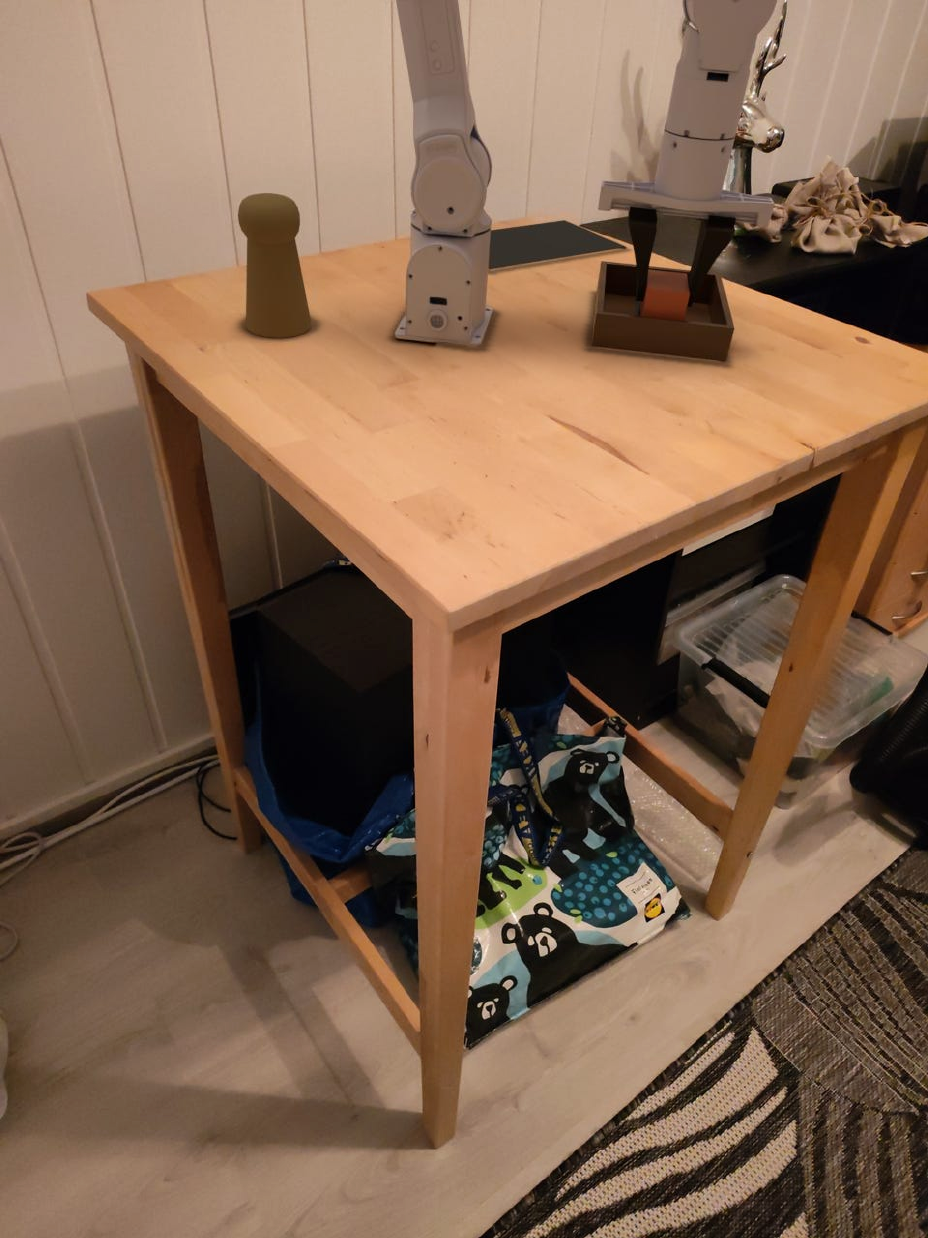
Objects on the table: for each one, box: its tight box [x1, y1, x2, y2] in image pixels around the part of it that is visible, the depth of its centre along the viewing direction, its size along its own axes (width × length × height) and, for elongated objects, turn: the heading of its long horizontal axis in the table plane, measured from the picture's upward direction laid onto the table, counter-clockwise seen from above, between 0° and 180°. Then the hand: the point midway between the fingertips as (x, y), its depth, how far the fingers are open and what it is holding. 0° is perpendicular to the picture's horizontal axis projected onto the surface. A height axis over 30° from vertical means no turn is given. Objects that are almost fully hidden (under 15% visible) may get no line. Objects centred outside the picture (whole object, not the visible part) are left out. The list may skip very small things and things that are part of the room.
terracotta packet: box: [640, 270, 690, 321], centre depth 77 cm, size 6×4×3 cm
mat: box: [488, 219, 627, 270], centre depth 100 cm, size 12×20×1 cm, turn 123°
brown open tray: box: [590, 260, 735, 362], centre depth 81 cm, size 15×12×3 cm
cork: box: [237, 192, 313, 339], centre depth 74 cm, size 6×6×11 cm
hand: (663, 300), depth 77 cm, fingers closed on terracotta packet, 4 cm apart
